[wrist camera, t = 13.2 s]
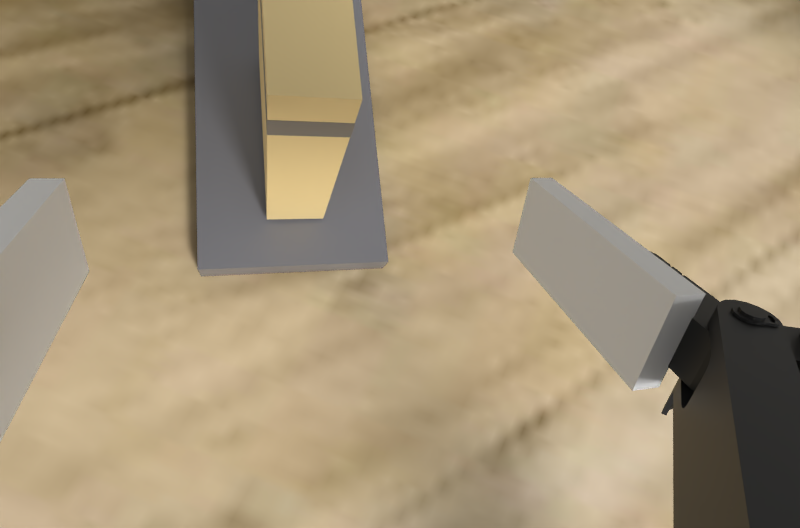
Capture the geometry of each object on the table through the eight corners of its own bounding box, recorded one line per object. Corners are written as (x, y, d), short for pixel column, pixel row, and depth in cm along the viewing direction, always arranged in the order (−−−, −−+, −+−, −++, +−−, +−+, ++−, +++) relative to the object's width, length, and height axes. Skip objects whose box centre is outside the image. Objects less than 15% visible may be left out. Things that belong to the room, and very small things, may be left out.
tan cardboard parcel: (258, 55, 28) (254, -156, 18) (311, 59, 29) (339, -141, 18) (266, 219, 26) (266, 95, 15) (323, 219, 27) (362, 100, 16)
